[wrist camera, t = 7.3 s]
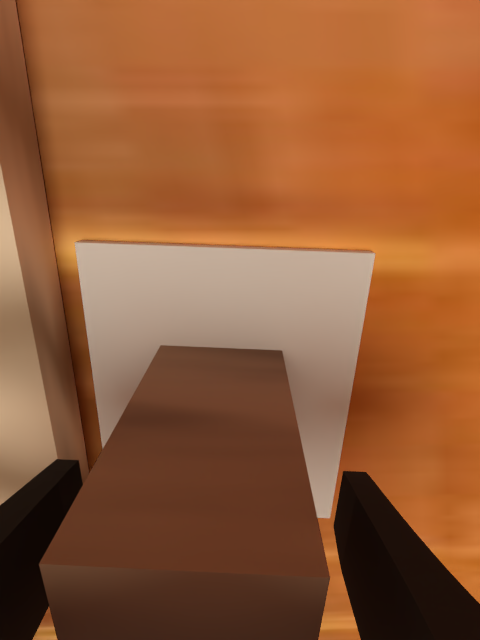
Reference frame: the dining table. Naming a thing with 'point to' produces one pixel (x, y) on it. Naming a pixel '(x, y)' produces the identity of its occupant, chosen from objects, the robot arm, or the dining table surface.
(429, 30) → the dining table surface
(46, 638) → the dining table surface
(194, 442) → the block
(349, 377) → the felt pad
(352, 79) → the dining table surface
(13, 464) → the pocket board
